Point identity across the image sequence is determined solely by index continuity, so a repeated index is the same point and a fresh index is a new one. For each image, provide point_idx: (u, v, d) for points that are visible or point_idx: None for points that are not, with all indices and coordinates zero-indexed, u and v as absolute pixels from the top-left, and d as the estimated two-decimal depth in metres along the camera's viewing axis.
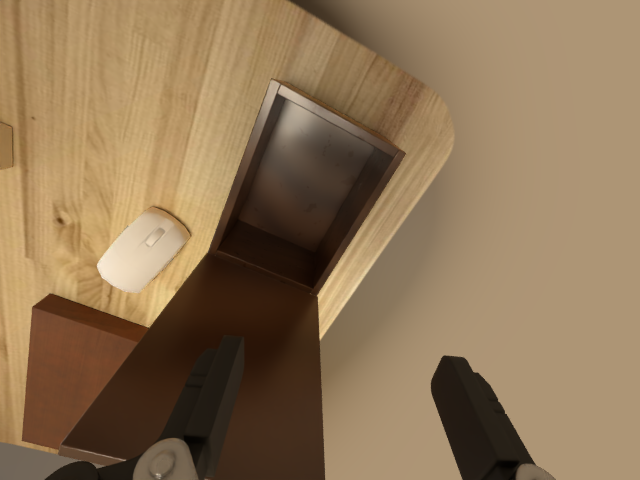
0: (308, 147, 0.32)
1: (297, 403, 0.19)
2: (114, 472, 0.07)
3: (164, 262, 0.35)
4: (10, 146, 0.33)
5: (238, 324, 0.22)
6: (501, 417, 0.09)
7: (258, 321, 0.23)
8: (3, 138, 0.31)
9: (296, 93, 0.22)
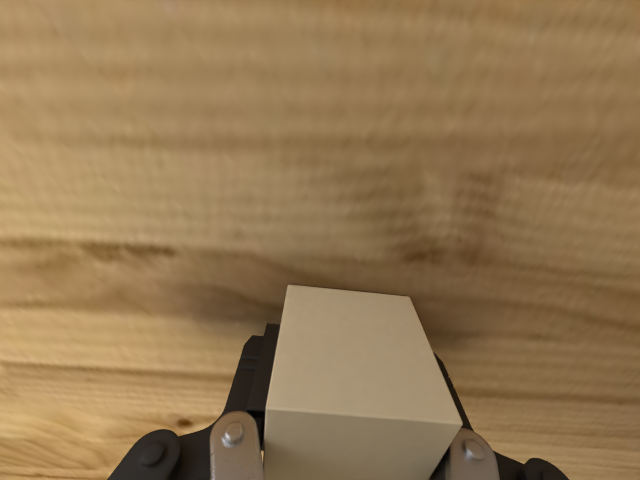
0: None
1: None
2: (188, 441, 0.08)
3: None
4: None
5: None
6: None
7: None
8: None
9: None
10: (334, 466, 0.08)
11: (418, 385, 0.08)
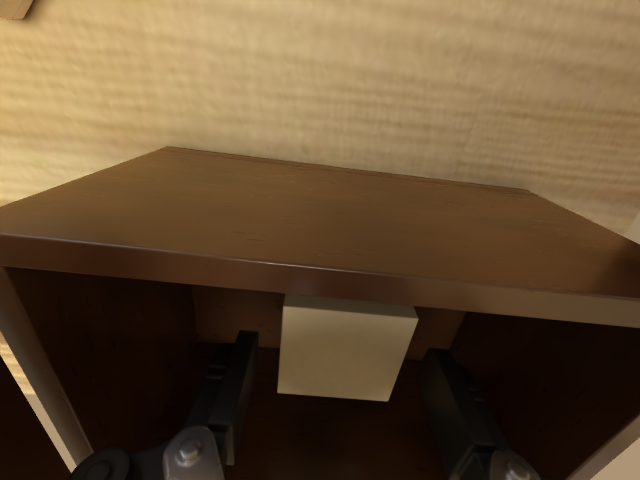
0: None
1: None
2: (142, 458, 0.07)
3: None
4: None
5: None
6: (481, 406, 0.10)
7: None
8: None
9: None
10: (330, 359, 0.11)
11: None
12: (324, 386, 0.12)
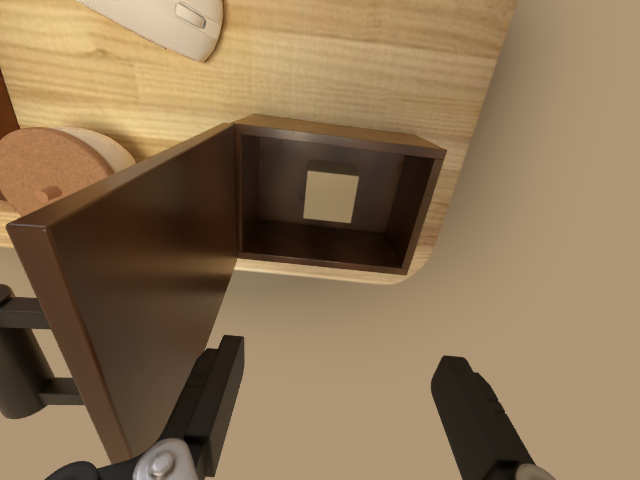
0: (364, 177, 0.32)
1: (188, 365, 0.15)
2: (114, 472, 0.07)
3: (158, 40, 0.23)
4: None
5: (208, 234, 0.17)
6: (501, 417, 0.09)
7: (214, 245, 0.19)
8: None
9: (437, 176, 0.24)
10: (325, 198, 0.28)
11: (349, 172, 0.28)
12: (323, 213, 0.29)
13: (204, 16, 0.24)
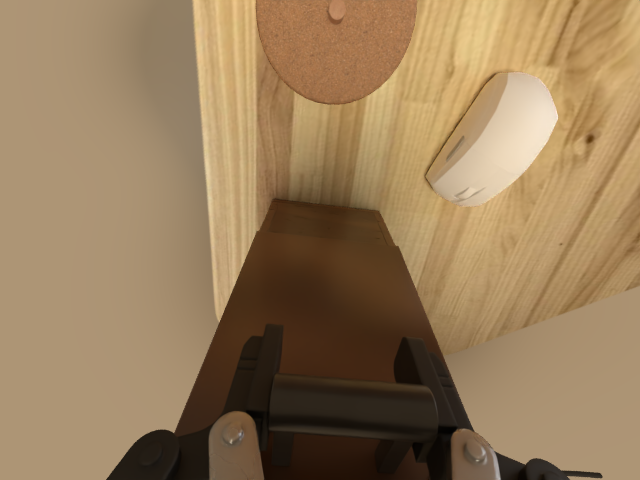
0: None
1: None
2: (187, 442, 0.08)
3: (456, 166, 0.27)
4: None
5: None
6: (449, 391, 0.10)
7: None
8: None
9: None
10: None
11: None
12: None
13: (460, 198, 0.29)
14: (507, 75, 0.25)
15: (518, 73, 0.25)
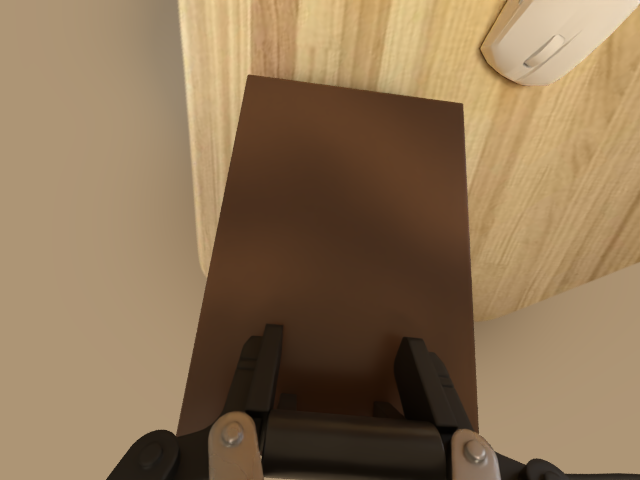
0: None
1: None
2: (187, 441, 0.08)
3: None
4: None
5: None
6: (449, 391, 0.10)
7: None
8: None
9: None
10: None
11: None
12: None
13: (534, 67, 0.21)
14: None
15: None
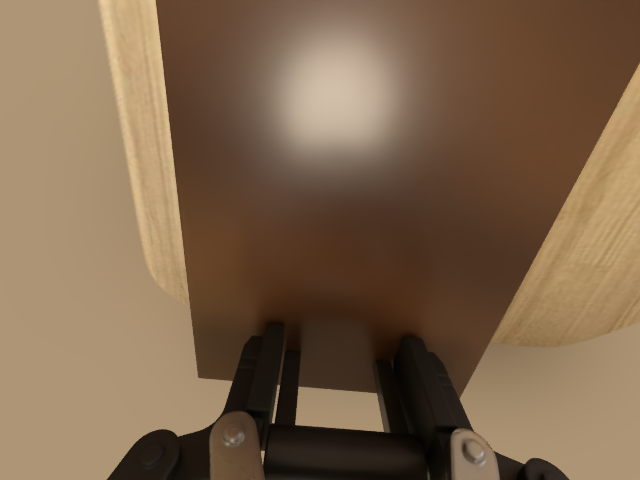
0: None
1: None
2: (188, 441, 0.08)
3: None
4: None
5: None
6: (449, 391, 0.10)
7: None
8: None
9: None
10: None
11: None
12: None
13: None
14: None
15: None
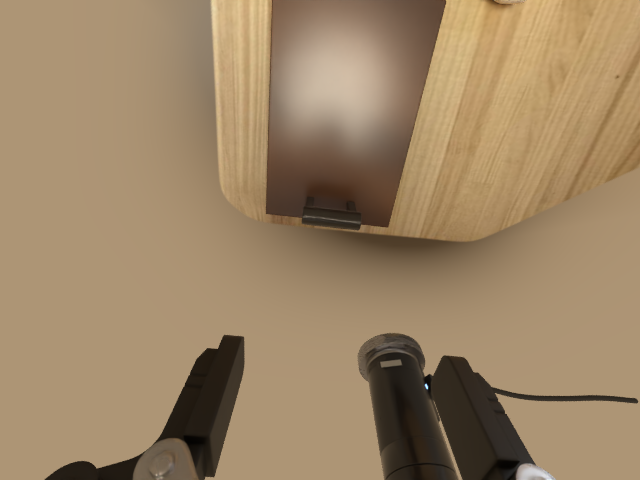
0: None
1: None
2: (113, 472, 0.07)
3: None
4: None
5: None
6: (501, 417, 0.09)
7: None
8: None
9: None
10: None
11: None
12: None
13: None
14: None
15: None
